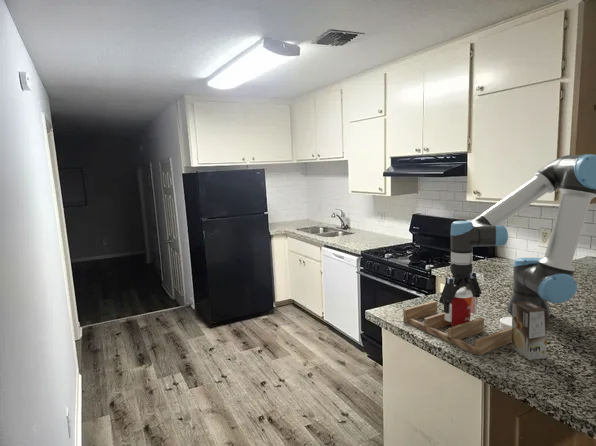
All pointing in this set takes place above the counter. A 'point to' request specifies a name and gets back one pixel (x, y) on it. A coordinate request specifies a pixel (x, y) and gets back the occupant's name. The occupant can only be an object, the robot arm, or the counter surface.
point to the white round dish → (505, 323)
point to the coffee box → (529, 330)
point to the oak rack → (456, 329)
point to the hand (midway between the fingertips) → (460, 316)
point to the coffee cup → (461, 306)
